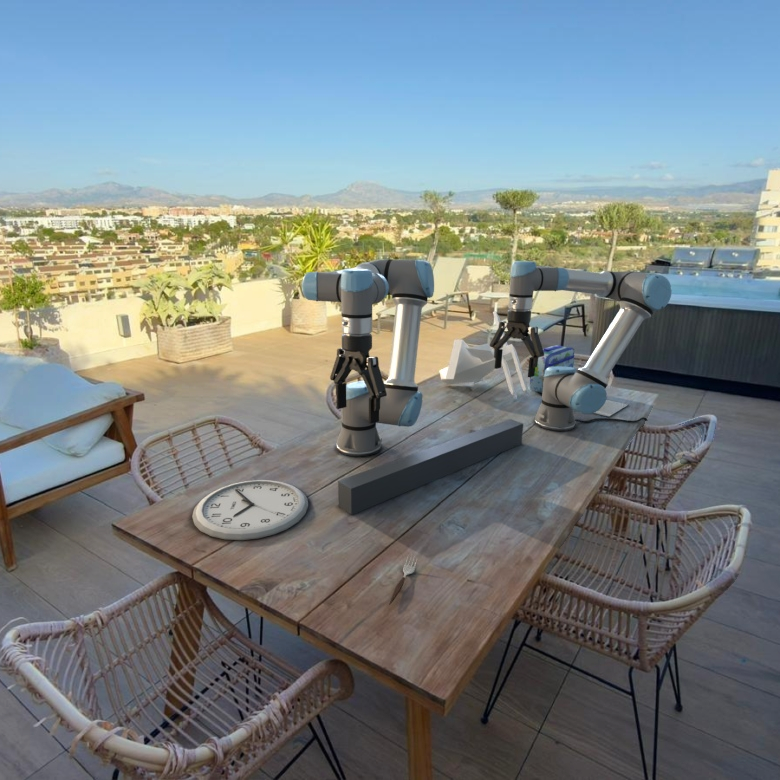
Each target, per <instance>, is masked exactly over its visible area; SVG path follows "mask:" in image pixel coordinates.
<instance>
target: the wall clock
mask: <svg viewBox="0 0 780 780" xmlns="http://www.w3.org/2000/svg"><path fill="white" fill-rule="evenodd" d="M308 509H309V502H308V498H307V496H306V494H305V493H304V492H303V491H302V490H300V489H299V488H297V487H296V486H294V485H292V484H289V483H286V482H284V481H283V482H282V481H276V480H268V479H267V480H266V479H257V480H245V481H240V482H236V483H231V484H229V485H226V486H223V487H220V488H218V489H216V490H214V491H212V492H210V493H209V494H207V495H205V497H203V498H202V499H201V500H200V501H198V503H197V504H196V506H195V507H194V508H193V512H192V516H191V517H192V521H193V524H194V526H195V527H196V528H197V530H199V531H200V532H201V533H203V534H206V535H207V536H210V537H212V538H216V539H222V540H226V541H227V540H229V541H245V540H246V541H247V540H256V539H261V538H265V537H266V538H267V537H271V536H274V535H276V534H278V533H281V532H283V531H286V530H288V529H289V528H291V527H293V526H295V525H296V524H297V523H299V522H300V521H301V520H302V518H304V516H305V515H306V513H307V511H308Z"/></svg>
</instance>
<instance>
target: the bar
mask: <svg viewBox="0 0 780 780" xmlns="http://www.w3.org/2000/svg"><path fill="white" fill-rule="evenodd" d="M523 432H524V423H523V422H520V421H518V420H514V419H511V418H508V419H506V420H504V421H500V422H497V423H495V424H491V425H490V426H487V427H483V428H481V429H478V430H475V431H473V432H470V433H466V434H464V435H461V436H459V437H456V438H453V439H450V440H448V441H445V442H442V443H439V444H437V445H434V446H430V447H428V448H425V449H423V450H420V451H417V452H414V453H412V454H409V455H406V456H402V457H400V458H398V459H395V460H392V461H389V462H387V463H383V464H381V465H378V466H376V467H375V466H374V467H372V468H369V469H367V470H364V471H362V472H359V473H356V474H353V475H350V476H347V477H345V478H342V479H339V480H338V481H337V488H338V489H337V490H338V491H337V492H338V494H337V495H338V497H337V498H338V502H337V503H338V507H339V508H340V509H342V510H343V511H345V512H346V513H347V514H349V515H351V516H353V515H355V514H357V513H359V512H361V511H364V510H367V509H370V508H371V507H374V506H376V505H379V504H381V503H383V502H386V501H388V500H391V499H393V498H395V497H398V496H400V495H402V494H405V493H408V492H411V491H413V490H415V489H417V488H420V487H422V486H424V485H427V484H429V483H431V482H434V481H437V480H438V479H441V478H443V477H446V476H448V475H451V474H452V473H456V472H457V471H460V470H463V469H465V468H467V467H470V466H472V465H474V464H476V463H477V464H478V463H479V462H482V461H483V460H487V459H489V458H491V457H493V456H496V455H498V454H501V453H503V452H505V451H508V450H510V449H512V448H515V447H518V446H520V445H522V441H523Z"/></svg>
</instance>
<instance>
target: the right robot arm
mask: <svg viewBox="0 0 780 780" xmlns="http://www.w3.org/2000/svg"><path fill="white" fill-rule="evenodd" d="M509 276H510V279H509V281H510V282H509V295H508V303H507V305H508V310H507V316H506V320H507V321H506V320H504V321H501V322H500V323H499V328H497V329H496V332H495V334H494V335H493V337H492V339H491V342H489V345H490V347H491V348H492V349H493V350H494V358H495V369H494V370H497V369H501V368H502V351H503V349H500V348H503V345H504V344H505V343H506V342H507V343H508V341H509V340H510V339H511V338H516V339H521V341H522V342H523V343H524V345H525V347H526V349H527V351H528V352H529V354H530V357H529V361H528V369H527V378H530V377H533V376H534V375H535V367H537V365H538V358H539V357H542V356H544V351H543V349H544V348H543V346H542V342H541V339H540V335H539V327H538V326H531V325H530V323H531V320H532V311H531V310H532V309H533V301H534V300H533V299H534V292H557V291H565V292H575V293H583V294H592V295H596V296H597V297H599V298H604V299H608V300H613V301H616V302H618V304H619V310H618V312H617V313H616V315H615V316H614V318H613V320H612V321H611V323H610V324H609V326H608V328H607V329H606V331H605V333H604V334H603V335H602V337H601V339H600V341H599V342H598V344H597V345H596V347H595V349H594V350H593V352H592V353H591V355H590V356H589V359H588V360H587V361H586V363H585V364H584V366H582V367H579V368H576V367H574V366H573V367H563V366H556V367H549V368H547V369H546V370H545V374H544V382H543V392H542V393H541V402H540V405H539V407H538V410H537V411H536V413H535V417H534V424H535V425H536V426H537V427H539V428H542V429H544V430H549V431H556V432H567V431H572V430H574V429H575V428H576V422H579V423H586V424H587V423H592V422H595V421H610V422H611V421H612V422H622V423H633V424H635V423H639V422H641V421H643V420H644V421H646V422H648V419H647V417H645V416H643V417H640V418H638V419H636V420H635V419H634V420H630V419H621V418H610V417H608V418H606V417H596V418H591V419H588V420H584V419H583V420H582V419H577V418H575V417H576V416H575V413H574V412H577V413H580V414H583V415H590V414H595V413H594V412H596V411H598V410H599V409H600V408H601V407H602V406H603V405H604V404H605V402H606V400H607V398H608V397H607V395H608V393H607V390H606V389H607V387H608V385H609V383H608V377H609V376H610V374H611V372H612V371H613V369H614V368H615V366H616V364H617V363H618V361H619V360H620V358H621V356H622V355H623V353H624V351H625V350H626V349H627V347H628V346H629V344H630V343H631V340H632V339H633V337H634V335H635V334H636V333H637V331H638V329H639V327H640V326H641V325H642V323H643V322H644V320H647V319H650V318H651V317H652V316H653V314H654V312H656V311H659V310H661V309H664V308H665V307H666V306H667V305H668V304H669V302H670V301H671V297H672V291H673V290H672V284H671V282H670V281H669V279H668V278H667V277H666V276H665V275H662V274H657V273H655V272H651V273H649V272H640V271H633V270H630V271H629V270H625V271H622V270H621V271H612V270H611V271H610V270H603V271H601V272H595V271H587V270H586V271H585V270H579V269H569V268H565V267H559V266H555V267H554V266H545V265H544V266H543V265H537V263H536V262H535V261H531V260H515V261H514V262H513V263H512V264H511V269H510V275H509ZM506 329H507V330H506ZM505 330H506V332H505ZM503 332H504V336H503V337H502V338H501V336H502V334H503Z"/></svg>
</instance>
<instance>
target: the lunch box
mask: <svg viewBox="0 0 780 780" xmlns="http://www.w3.org/2000/svg"><path fill="white" fill-rule="evenodd" d="M543 351H544V356H542V357H539V358H538V365H537V367H535V375H534V376H533V377H529V391H532V392H536V393H540V394H542V392H543V382H544V374H545V370H546V369H547V368H549V367H556V366H563V367H573V368H574V363H575V348H573V347H571V346H570V347H568V346H563V345H551V346H548V347H544V348H543Z"/></svg>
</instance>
